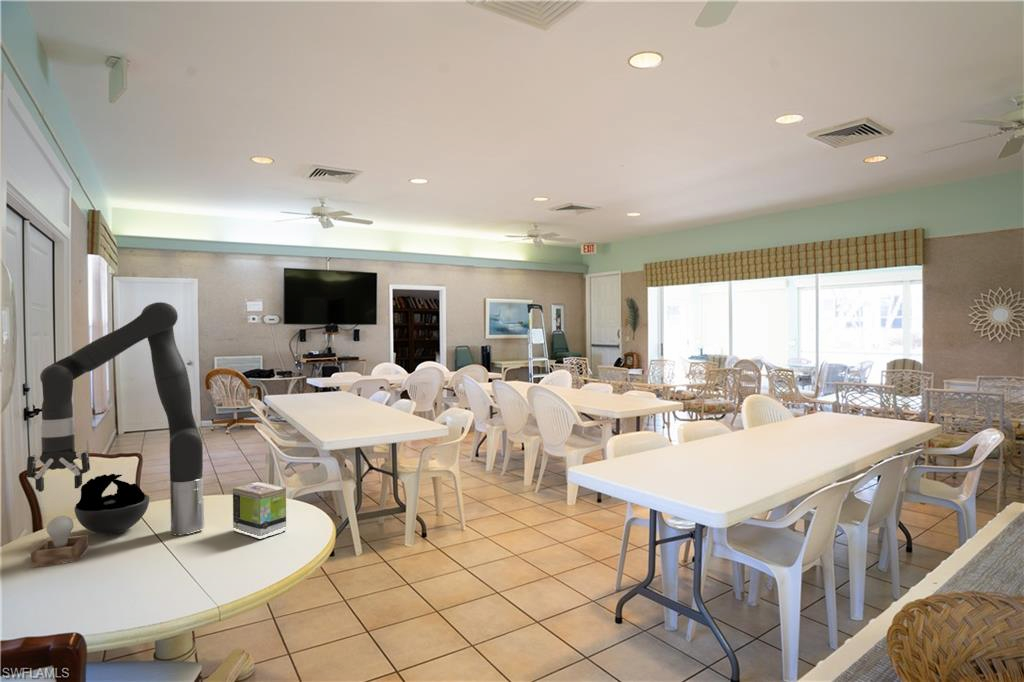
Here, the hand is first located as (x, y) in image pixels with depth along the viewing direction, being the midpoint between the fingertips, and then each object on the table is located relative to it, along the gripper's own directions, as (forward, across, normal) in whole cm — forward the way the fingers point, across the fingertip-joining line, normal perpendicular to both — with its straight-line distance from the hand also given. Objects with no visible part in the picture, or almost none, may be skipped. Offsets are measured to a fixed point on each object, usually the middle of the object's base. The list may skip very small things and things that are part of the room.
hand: (59, 489), depth 165 cm
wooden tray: (+20, 0, 0) cm, 20 cm away
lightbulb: (+19, 0, 0) cm, 19 cm away
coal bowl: (+20, +9, +18) cm, 28 cm away
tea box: (+20, +53, 0) cm, 57 cm away
